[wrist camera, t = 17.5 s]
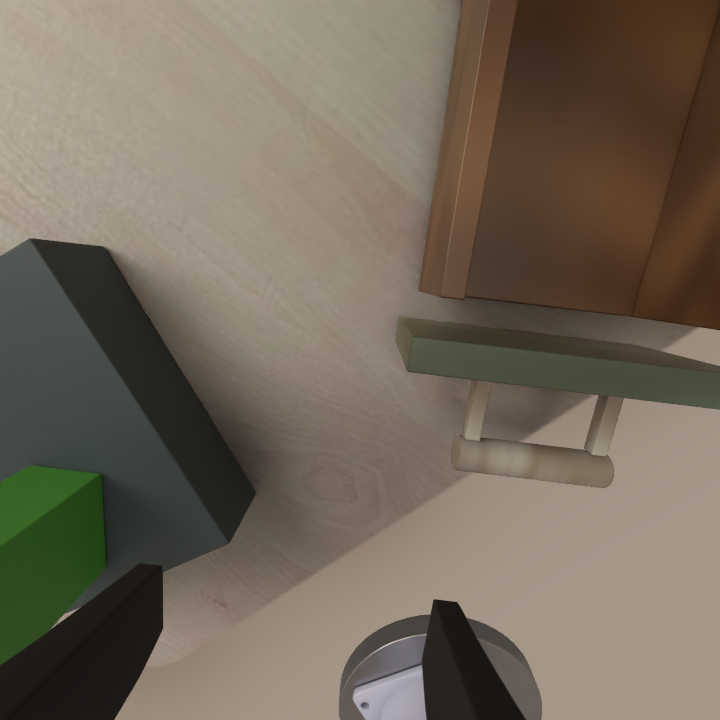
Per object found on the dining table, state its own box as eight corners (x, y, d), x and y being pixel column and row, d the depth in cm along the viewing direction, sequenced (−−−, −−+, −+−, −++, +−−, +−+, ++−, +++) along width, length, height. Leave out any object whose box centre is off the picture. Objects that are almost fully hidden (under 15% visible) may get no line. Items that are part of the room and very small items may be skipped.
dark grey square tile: (256, 493, 21) (229, 544, 17) (74, 574, 22) (11, 637, 18) (104, 246, 18) (29, 237, 14) (-91, 359, 19) (-208, 379, 15)
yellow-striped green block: (107, 567, 17) (-14, 700, 12) (40, 559, 17) (-110, 687, 12) (102, 473, 16) (-33, 571, 11) (31, 464, 16) (-140, 558, 11)
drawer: (607, 451, 18) (712, 528, 13) (383, 424, 18) (389, 489, 13) (775, -118, 13) (1076, -413, 8) (464, -153, 13) (533, -473, 8)
